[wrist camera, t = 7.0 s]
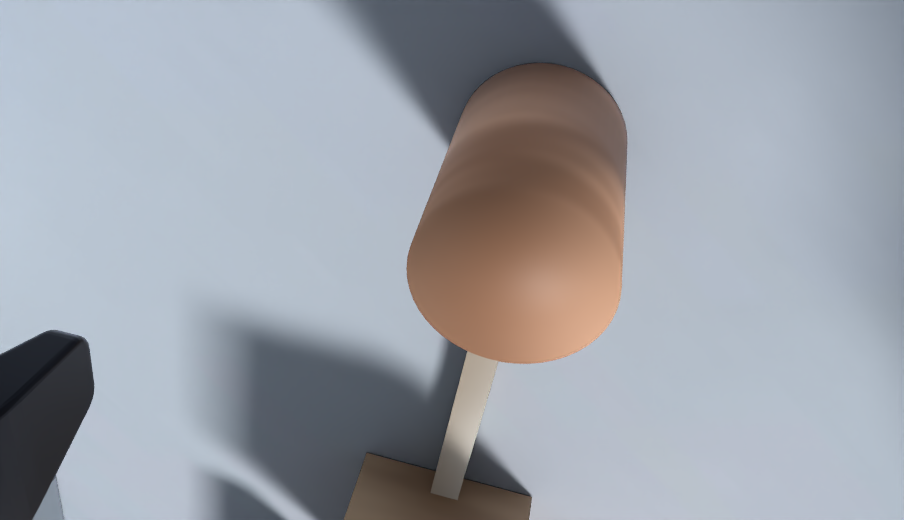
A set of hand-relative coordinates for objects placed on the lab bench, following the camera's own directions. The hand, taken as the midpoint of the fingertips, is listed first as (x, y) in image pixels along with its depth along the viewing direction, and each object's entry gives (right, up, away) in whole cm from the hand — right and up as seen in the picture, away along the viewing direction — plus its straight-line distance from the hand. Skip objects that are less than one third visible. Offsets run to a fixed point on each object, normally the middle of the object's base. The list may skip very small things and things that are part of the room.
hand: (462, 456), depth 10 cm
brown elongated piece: (+1, -1, +13) cm, 13 cm away
